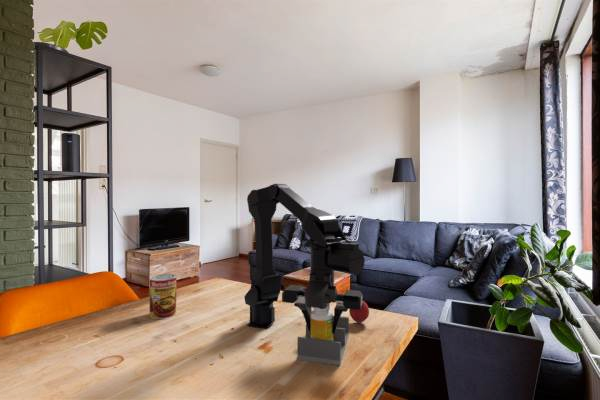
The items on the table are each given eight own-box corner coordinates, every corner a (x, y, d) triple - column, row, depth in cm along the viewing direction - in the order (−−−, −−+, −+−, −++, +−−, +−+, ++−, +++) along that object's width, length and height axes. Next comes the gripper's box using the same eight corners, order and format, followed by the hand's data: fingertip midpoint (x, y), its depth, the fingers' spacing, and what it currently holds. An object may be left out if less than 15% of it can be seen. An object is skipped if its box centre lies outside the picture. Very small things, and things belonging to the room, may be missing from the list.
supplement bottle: (330, 349, 72) (329, 307, 72) (307, 346, 74) (307, 305, 74) (335, 339, 77) (334, 300, 77) (314, 336, 79) (313, 298, 79)
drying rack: (297, 359, 73) (297, 337, 73) (313, 331, 88) (313, 313, 88) (340, 365, 70) (340, 343, 70) (348, 335, 85) (348, 317, 85)
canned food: (153, 321, 95) (153, 281, 95) (146, 313, 101) (146, 276, 101) (179, 315, 100) (179, 277, 100) (172, 308, 106) (172, 272, 106)
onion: (369, 328, 90) (369, 300, 90) (348, 326, 91) (349, 299, 91) (368, 320, 96) (369, 294, 96) (349, 319, 97) (349, 293, 97)
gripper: (274, 272, 70) (273, 341, 70) (358, 278, 65) (358, 353, 65) (289, 262, 81) (288, 322, 81) (362, 267, 76) (362, 331, 76)
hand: (321, 332), depth 76 cm, fingers closed on supplement bottle, 5 cm apart
